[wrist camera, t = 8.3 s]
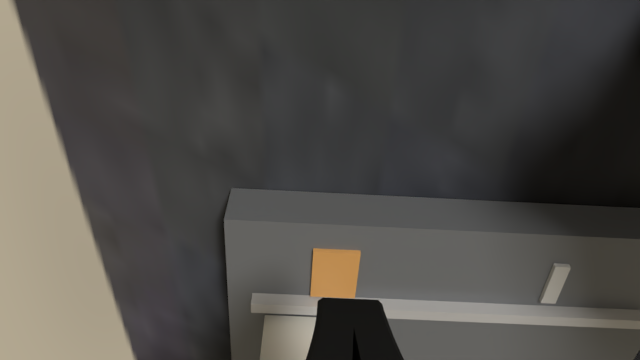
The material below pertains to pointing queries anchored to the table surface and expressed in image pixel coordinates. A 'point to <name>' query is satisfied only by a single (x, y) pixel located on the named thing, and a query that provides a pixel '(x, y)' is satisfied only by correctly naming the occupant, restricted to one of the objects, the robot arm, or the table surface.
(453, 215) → the panel
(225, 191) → the table surface
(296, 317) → the block
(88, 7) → the table surface
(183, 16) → the table surface
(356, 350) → the robot arm
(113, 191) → the table surface
